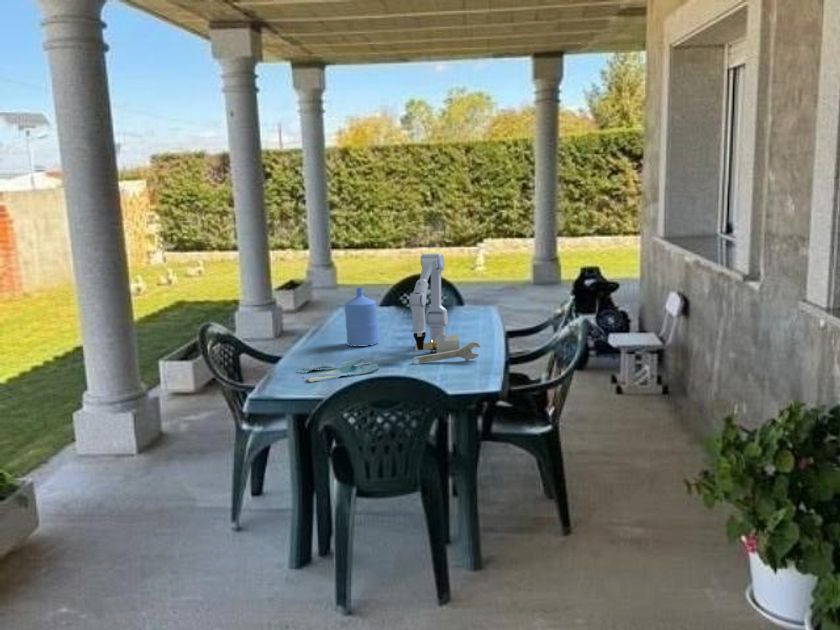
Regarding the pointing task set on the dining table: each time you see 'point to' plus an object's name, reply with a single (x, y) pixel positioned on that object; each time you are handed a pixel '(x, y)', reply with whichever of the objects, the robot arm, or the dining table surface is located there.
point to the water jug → (361, 320)
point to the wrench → (451, 354)
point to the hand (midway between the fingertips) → (420, 349)
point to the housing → (447, 343)
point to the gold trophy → (428, 346)
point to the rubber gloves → (344, 369)
